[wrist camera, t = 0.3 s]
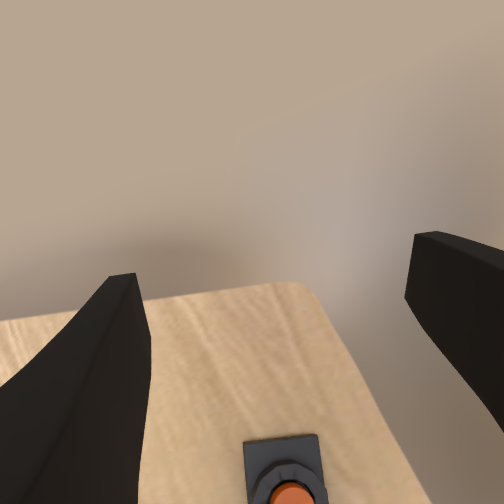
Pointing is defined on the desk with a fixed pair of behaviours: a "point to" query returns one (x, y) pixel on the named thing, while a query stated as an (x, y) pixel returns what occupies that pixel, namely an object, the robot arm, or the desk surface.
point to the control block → (283, 467)
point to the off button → (291, 494)
